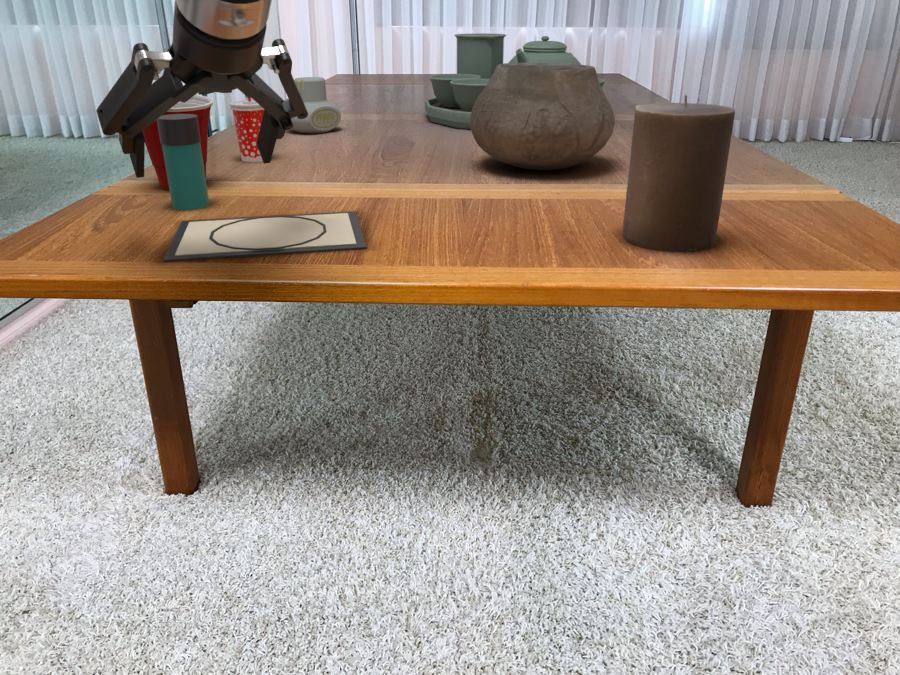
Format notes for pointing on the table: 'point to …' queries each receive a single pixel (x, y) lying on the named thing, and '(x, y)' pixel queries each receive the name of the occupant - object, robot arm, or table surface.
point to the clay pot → (542, 115)
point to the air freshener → (315, 107)
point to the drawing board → (265, 236)
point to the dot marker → (183, 160)
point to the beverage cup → (248, 128)
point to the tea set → (482, 73)
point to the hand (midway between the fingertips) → (202, 160)
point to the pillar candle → (677, 175)
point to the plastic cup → (152, 139)
